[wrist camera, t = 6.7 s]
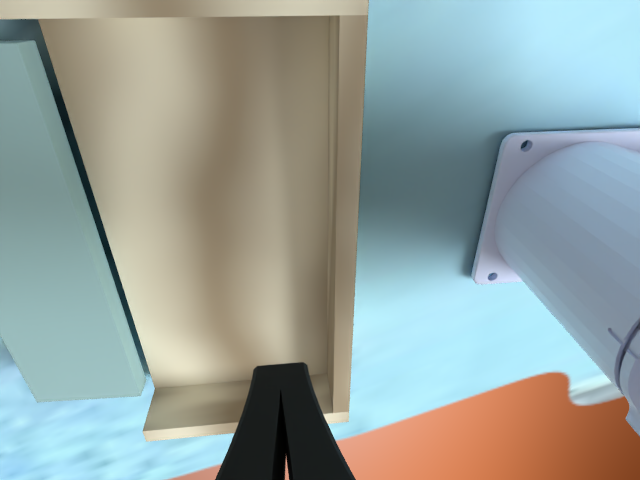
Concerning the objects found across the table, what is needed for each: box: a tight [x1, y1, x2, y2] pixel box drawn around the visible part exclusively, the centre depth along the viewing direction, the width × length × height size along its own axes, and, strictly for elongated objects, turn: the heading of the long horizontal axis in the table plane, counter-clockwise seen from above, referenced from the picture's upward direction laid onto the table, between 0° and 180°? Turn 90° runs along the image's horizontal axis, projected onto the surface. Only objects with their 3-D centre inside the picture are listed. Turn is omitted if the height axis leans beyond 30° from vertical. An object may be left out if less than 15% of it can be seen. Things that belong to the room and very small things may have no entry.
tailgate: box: [0, 40, 146, 402], centre depth 17 cm, size 1×16×5 cm
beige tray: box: [0, 0, 369, 441], centre depth 17 cm, size 10×21×4 cm, turn 0°
